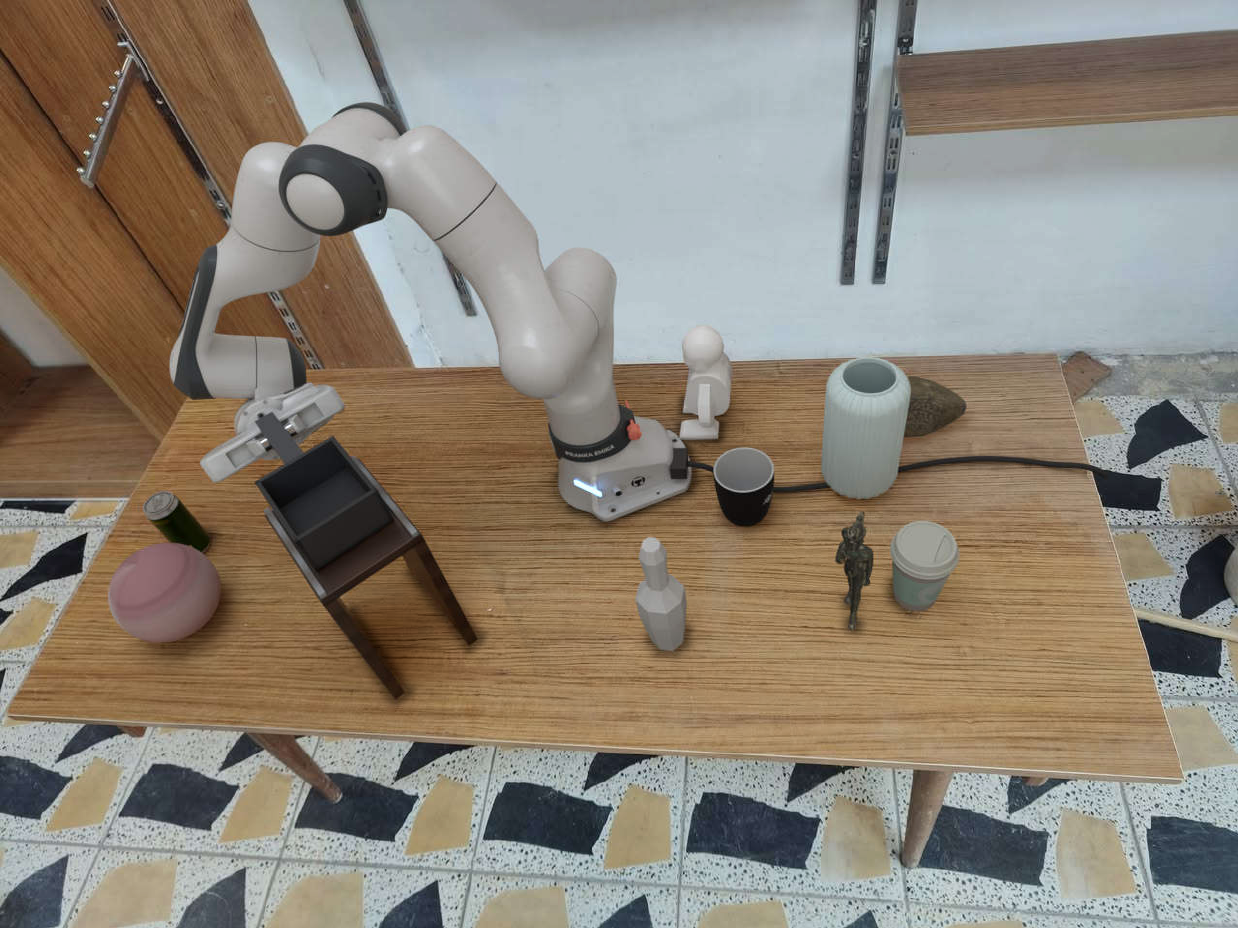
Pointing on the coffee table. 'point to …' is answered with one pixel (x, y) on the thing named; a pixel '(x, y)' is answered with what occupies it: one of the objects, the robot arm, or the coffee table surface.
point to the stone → (931, 407)
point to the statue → (855, 564)
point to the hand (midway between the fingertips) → (279, 437)
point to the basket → (320, 496)
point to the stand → (367, 562)
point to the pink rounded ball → (164, 592)
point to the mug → (744, 485)
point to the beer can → (176, 521)
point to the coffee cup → (922, 563)
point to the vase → (864, 426)
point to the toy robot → (705, 382)
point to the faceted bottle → (660, 598)
